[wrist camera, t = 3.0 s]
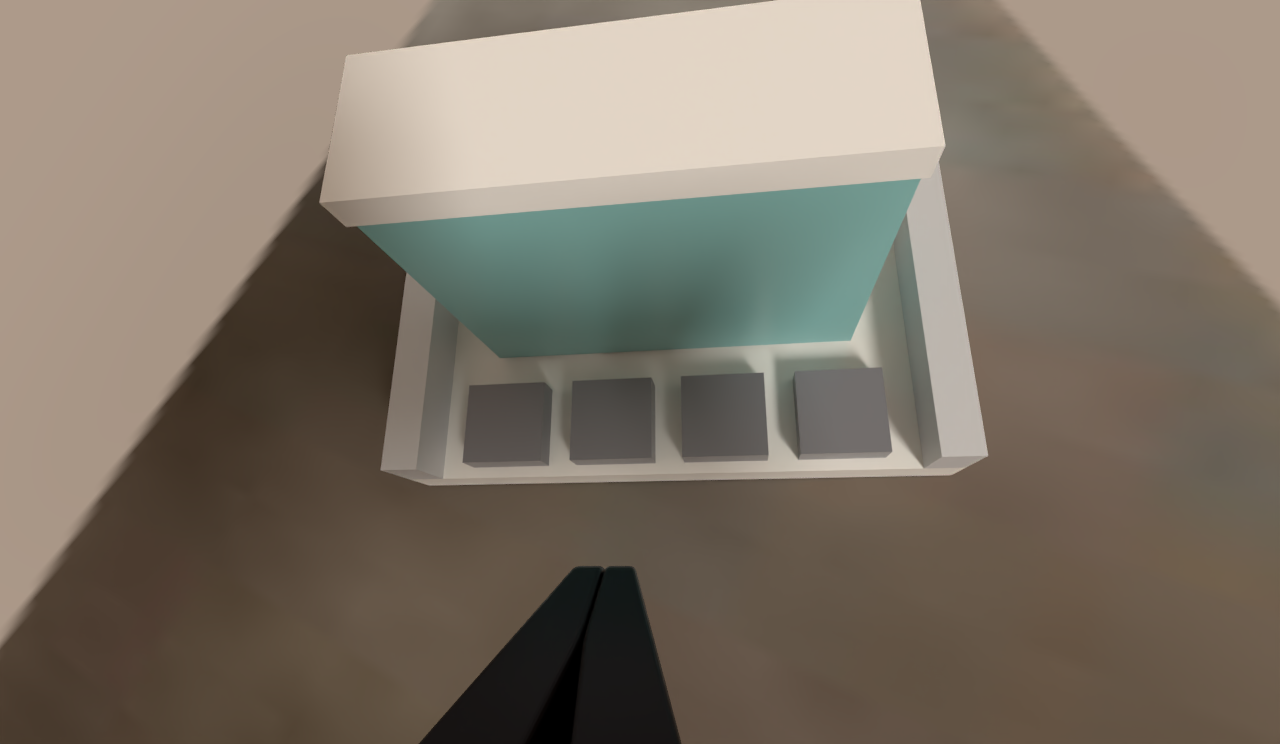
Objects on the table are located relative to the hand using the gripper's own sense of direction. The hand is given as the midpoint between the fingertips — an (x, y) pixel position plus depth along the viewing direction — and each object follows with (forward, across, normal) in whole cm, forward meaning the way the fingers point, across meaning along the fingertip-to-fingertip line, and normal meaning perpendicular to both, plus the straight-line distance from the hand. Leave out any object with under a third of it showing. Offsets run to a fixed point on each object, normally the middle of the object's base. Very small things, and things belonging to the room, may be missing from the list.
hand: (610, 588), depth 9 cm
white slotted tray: (+12, 0, +1) cm, 12 cm away
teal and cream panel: (+11, 0, 0) cm, 11 cm away
